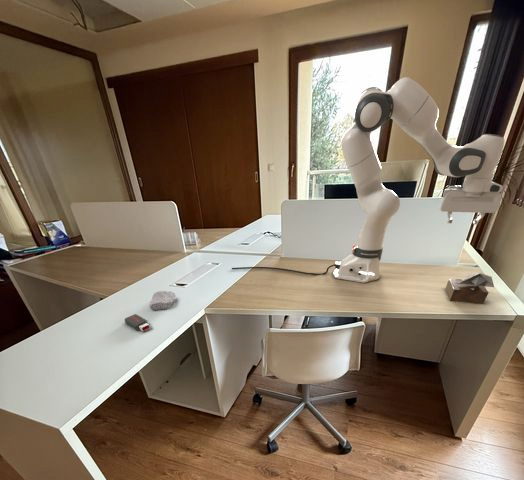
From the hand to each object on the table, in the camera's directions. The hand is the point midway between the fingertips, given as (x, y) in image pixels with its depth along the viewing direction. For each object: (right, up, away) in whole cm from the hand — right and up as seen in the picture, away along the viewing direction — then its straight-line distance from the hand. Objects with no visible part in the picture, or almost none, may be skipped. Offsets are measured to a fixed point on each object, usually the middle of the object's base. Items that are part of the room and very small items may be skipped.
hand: (461, 223), depth 119 cm
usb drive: (-133, -44, -7) cm, 141 cm away
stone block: (-128, -33, +8) cm, 132 cm away
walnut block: (+2, -30, +1) cm, 30 cm away
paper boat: (+5, -27, -3) cm, 28 cm away
